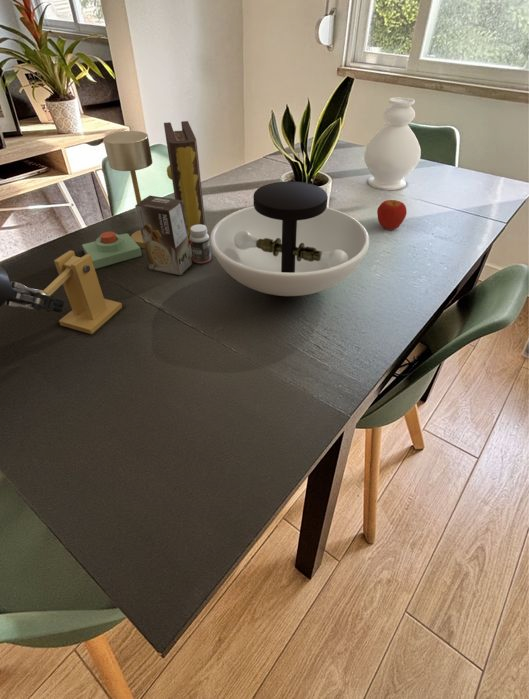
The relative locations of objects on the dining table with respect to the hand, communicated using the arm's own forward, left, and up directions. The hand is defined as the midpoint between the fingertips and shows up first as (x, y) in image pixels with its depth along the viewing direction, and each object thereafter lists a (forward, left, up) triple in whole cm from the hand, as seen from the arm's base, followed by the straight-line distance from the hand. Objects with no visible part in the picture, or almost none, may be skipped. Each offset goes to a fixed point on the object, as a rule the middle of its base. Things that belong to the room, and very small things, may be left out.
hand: (52, 304), depth 79 cm
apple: (+88, 0, -8) cm, 89 cm away
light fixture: (+47, -9, -8) cm, 49 cm away
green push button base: (+18, +28, -8) cm, 35 cm away
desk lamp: (+28, +30, -8) cm, 42 cm away
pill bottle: (+36, +13, -8) cm, 40 cm away
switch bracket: (+6, +4, -8) cm, 11 cm away
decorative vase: (+112, +25, -8) cm, 116 cm away
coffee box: (+28, +14, -8) cm, 33 cm away
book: (+42, +32, -8) cm, 54 cm away
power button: (+18, +28, -5) cm, 34 cm away
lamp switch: (+2, +2, +1) cm, 3 cm away
